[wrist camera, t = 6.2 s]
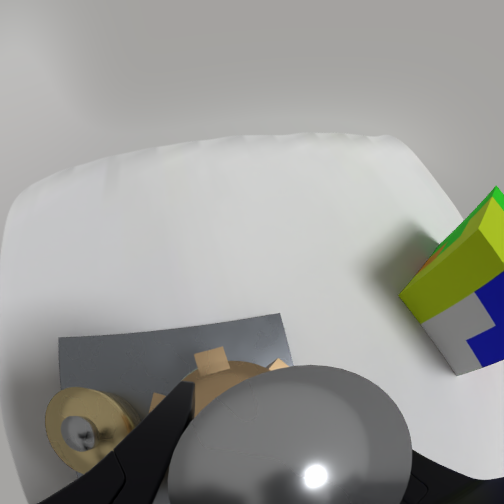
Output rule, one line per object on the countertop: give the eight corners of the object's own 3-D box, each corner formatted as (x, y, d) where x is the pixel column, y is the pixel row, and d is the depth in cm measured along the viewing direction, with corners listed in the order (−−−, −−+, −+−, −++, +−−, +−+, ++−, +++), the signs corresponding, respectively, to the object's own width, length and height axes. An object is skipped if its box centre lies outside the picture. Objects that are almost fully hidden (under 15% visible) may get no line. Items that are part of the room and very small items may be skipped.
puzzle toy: (456, 376, 17) (545, 340, 9) (397, 295, 21) (478, 228, 12) (487, 311, 22) (551, 267, 13) (439, 244, 25) (496, 185, 17)
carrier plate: (334, 473, 13) (376, 489, 9) (93, 504, 9) (59, 527, 5) (293, 314, 19) (321, 282, 14) (65, 341, 15) (24, 316, 11)
